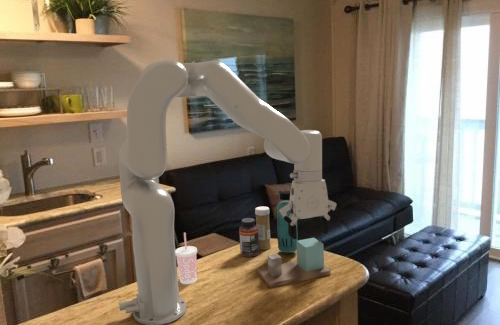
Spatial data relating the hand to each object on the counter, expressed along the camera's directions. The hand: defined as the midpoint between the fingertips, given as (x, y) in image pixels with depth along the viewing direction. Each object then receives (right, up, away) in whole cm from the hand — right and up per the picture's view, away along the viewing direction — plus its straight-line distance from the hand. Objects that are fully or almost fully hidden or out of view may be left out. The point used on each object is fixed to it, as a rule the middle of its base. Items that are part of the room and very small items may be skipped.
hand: (308, 235), depth 124 cm
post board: (-4, -11, 0) cm, 12 cm away
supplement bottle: (-16, -9, +16) cm, 25 cm away
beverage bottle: (-4, -8, +15) cm, 18 cm away
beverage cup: (-34, -13, -1) cm, 36 cm away
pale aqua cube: (+1, -9, +2) cm, 9 cm away
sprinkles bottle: (-12, -8, +21) cm, 25 cm away
